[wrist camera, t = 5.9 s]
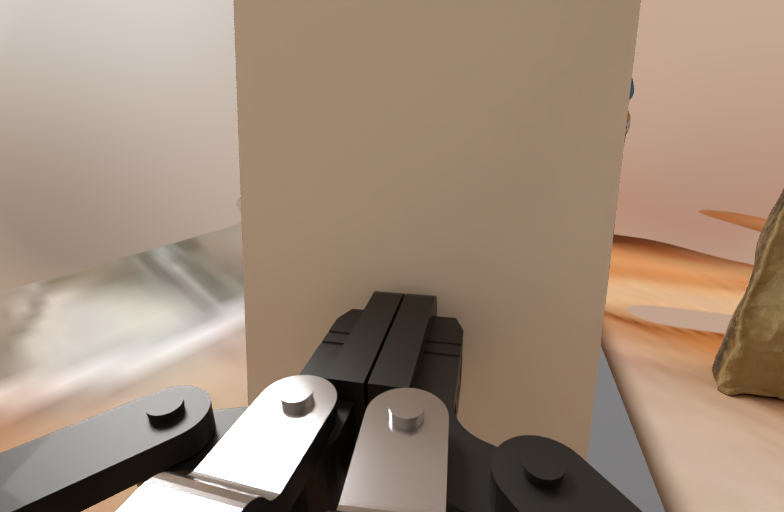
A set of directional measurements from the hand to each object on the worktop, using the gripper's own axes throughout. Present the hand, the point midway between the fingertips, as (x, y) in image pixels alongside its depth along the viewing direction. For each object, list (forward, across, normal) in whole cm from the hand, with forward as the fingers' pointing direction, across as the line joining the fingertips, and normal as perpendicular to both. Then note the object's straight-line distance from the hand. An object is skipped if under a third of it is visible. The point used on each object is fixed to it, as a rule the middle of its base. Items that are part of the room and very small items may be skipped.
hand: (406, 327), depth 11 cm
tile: (0, 0, +7) cm, 7 cm away
